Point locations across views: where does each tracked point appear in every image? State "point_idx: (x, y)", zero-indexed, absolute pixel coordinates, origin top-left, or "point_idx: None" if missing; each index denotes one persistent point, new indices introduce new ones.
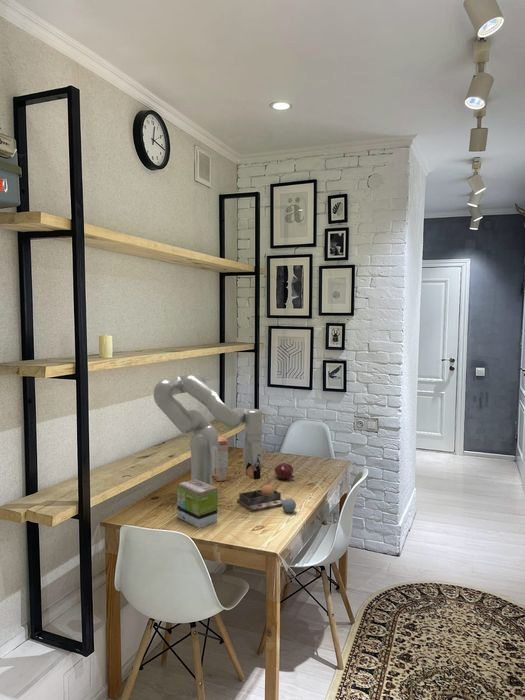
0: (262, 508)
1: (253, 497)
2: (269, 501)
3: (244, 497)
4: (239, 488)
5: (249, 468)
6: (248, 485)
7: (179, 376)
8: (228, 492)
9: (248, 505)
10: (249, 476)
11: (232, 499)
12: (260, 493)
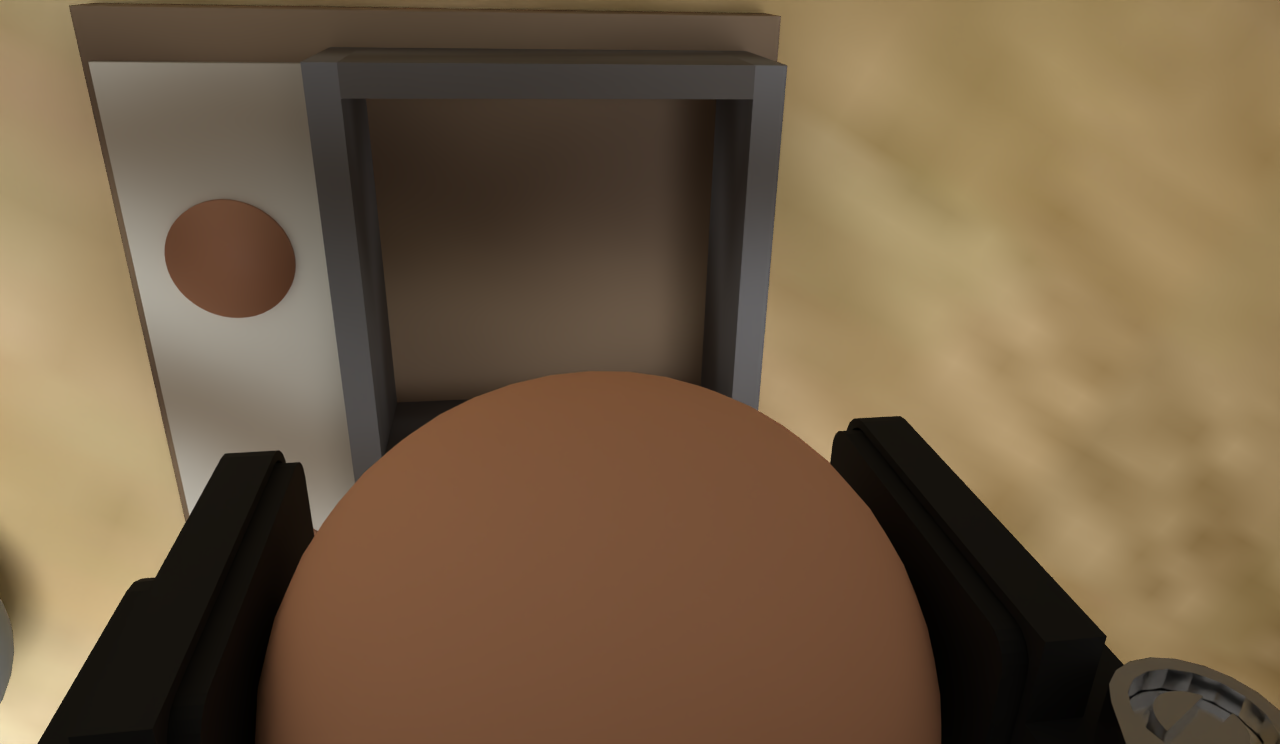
0: (128, 252)
1: (703, 358)
2: None
3: (521, 62)
4: (1273, 389)
5: (576, 657)
6: (1266, 554)
7: None
8: (1272, 137)
9: (331, 48)
10: (496, 391)
11: (950, 17)
12: None
